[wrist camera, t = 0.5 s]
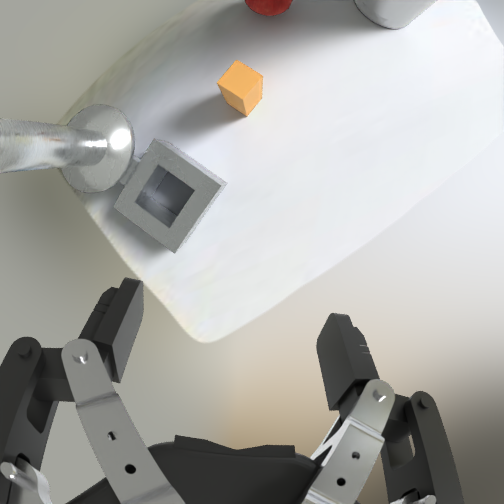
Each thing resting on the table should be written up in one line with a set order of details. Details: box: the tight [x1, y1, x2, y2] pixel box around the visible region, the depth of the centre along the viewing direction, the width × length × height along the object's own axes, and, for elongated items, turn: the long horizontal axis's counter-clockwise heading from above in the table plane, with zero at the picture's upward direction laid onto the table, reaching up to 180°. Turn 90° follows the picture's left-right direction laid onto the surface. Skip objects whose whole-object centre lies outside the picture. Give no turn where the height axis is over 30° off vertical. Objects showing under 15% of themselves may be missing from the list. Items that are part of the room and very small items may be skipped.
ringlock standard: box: [0, 105, 227, 253], centre depth 20 cm, size 10×20×30 cm, turn 53°
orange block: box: [217, 60, 263, 116], centre depth 28 cm, size 3×3×9 cm
